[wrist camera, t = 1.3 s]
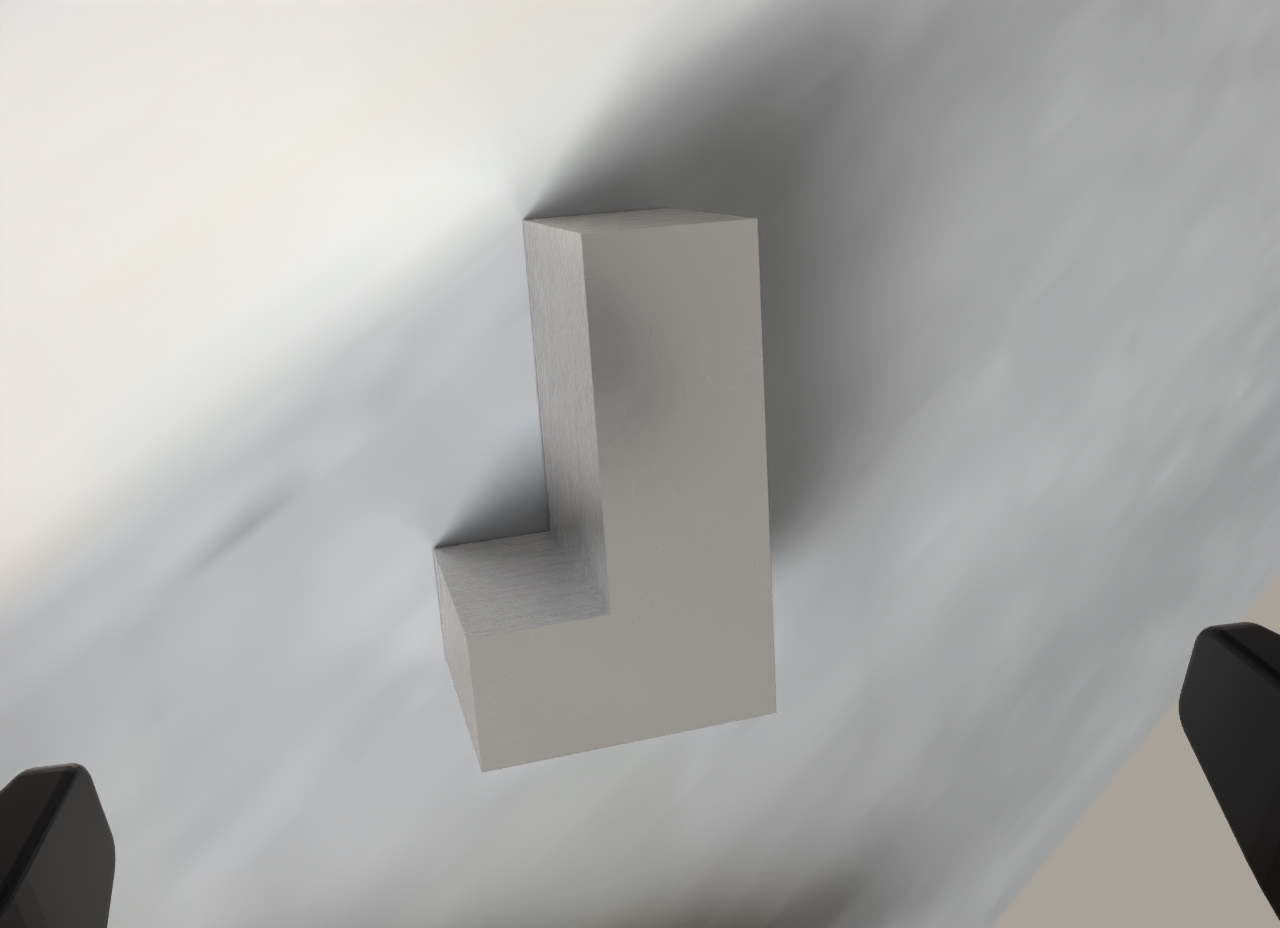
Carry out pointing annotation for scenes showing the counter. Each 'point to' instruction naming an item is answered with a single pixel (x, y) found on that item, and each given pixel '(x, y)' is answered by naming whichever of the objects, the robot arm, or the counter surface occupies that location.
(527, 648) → the bracket
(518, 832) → the counter surface
